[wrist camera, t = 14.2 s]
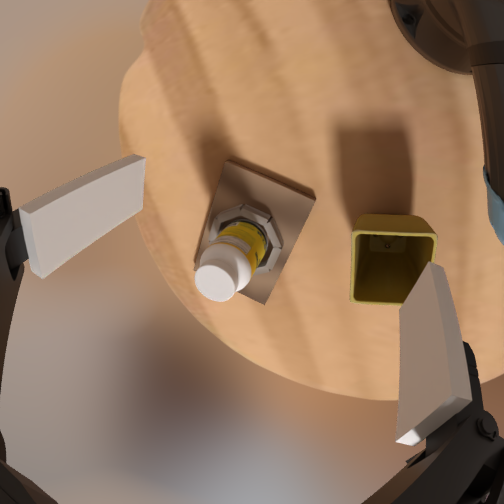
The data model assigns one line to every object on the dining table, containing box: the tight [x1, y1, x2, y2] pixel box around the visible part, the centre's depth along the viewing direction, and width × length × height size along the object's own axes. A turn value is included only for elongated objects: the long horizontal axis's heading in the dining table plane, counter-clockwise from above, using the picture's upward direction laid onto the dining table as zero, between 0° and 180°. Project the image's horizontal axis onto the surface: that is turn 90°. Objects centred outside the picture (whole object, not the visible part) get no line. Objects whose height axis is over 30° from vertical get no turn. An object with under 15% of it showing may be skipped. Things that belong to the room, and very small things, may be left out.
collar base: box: [194, 160, 316, 305], centre depth 42 cm, size 18×12×2 cm, turn 161°
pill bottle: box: [195, 219, 268, 301], centre depth 38 cm, size 6×6×11 cm
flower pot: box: [350, 214, 437, 306], centre depth 33 cm, size 9×9×9 cm
